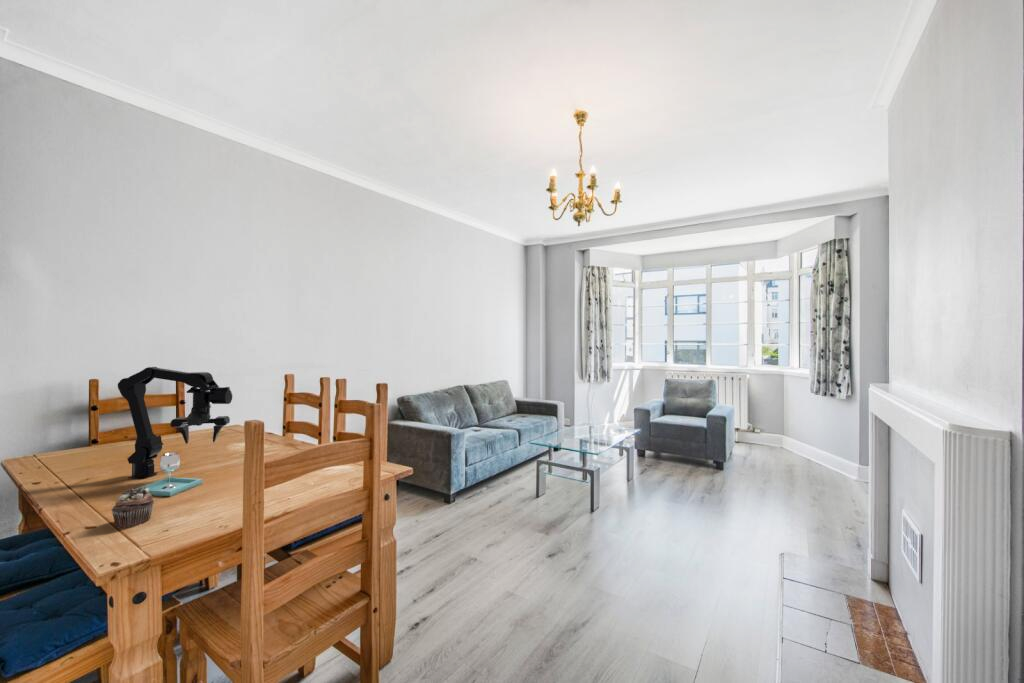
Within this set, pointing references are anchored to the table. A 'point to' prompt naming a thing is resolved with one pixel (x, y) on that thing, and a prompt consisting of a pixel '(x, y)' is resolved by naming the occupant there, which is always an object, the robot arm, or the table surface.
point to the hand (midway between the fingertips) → (200, 442)
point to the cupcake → (133, 508)
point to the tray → (181, 484)
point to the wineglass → (169, 466)
